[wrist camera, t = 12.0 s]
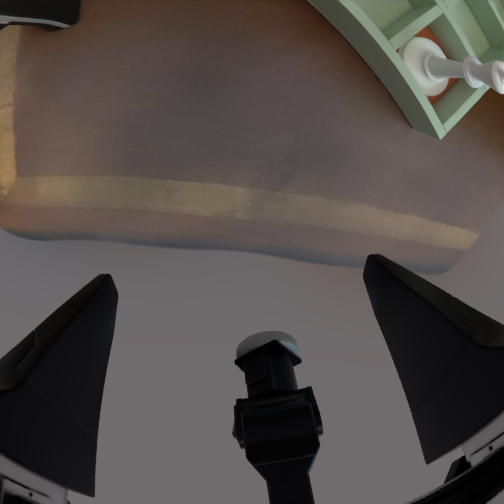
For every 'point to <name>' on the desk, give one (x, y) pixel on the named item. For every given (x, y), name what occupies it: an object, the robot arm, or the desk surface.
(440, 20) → the compartment tray
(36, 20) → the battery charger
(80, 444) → the robot arm
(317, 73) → the desk surface
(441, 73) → the chess piece
